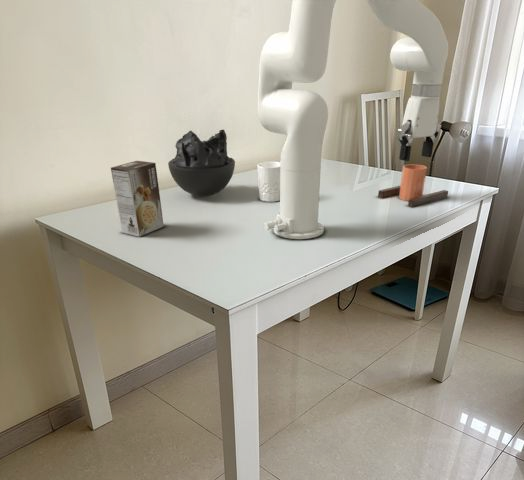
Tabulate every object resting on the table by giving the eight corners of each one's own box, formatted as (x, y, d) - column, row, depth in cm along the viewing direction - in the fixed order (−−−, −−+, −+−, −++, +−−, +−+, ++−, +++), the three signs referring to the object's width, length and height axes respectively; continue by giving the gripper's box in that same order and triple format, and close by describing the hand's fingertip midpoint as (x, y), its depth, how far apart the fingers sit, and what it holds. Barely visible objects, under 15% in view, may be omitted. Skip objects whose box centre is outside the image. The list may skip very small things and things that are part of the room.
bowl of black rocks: (161, 202, 148) (153, 134, 138) (185, 185, 164) (180, 123, 154) (225, 206, 144) (221, 136, 134) (243, 188, 160) (241, 125, 150)
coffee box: (146, 223, 132) (137, 159, 123) (164, 227, 129) (156, 162, 120) (121, 233, 125) (109, 166, 116) (139, 237, 122) (129, 170, 114)
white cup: (281, 203, 146) (281, 167, 141) (255, 201, 147) (254, 166, 142) (285, 195, 153) (286, 162, 147) (260, 194, 154) (260, 161, 148)
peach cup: (411, 202, 145) (416, 170, 141) (394, 197, 150) (398, 166, 145) (426, 198, 149) (431, 167, 144) (408, 193, 153) (413, 163, 149)
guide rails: (412, 207, 141) (413, 200, 140) (377, 197, 150) (378, 190, 149) (447, 197, 149) (448, 191, 148) (412, 188, 158) (413, 182, 157)
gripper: (434, 89, 141) (424, 153, 150) (393, 92, 132) (384, 159, 141) (457, 91, 136) (444, 157, 145) (415, 94, 127) (405, 164, 136)
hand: (415, 158), depth 143 cm, fingers open, 9 cm apart
